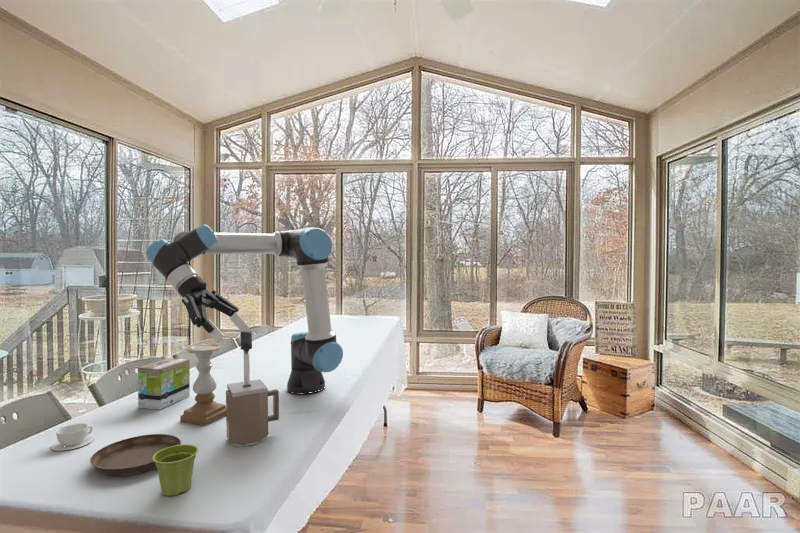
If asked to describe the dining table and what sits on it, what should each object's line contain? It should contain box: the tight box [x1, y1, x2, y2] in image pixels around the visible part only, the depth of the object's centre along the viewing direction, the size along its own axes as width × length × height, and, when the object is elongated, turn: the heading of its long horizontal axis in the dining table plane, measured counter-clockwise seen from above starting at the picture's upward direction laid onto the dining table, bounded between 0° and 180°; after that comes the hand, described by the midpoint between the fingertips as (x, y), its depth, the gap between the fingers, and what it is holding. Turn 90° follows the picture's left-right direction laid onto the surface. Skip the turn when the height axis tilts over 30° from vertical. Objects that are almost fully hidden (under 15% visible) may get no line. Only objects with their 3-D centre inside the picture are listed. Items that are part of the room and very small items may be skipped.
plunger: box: [239, 330, 253, 396], centre depth 127 cm, size 9×9×22 cm
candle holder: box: [179, 343, 226, 426], centre depth 144 cm, size 11×11×24 cm
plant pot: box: [153, 443, 199, 497], centre depth 101 cm, size 9×9×9 cm
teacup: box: [50, 423, 95, 452], centre depth 125 cm, size 10×10×5 cm
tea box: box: [137, 357, 191, 411], centre depth 159 cm, size 15×10×15 cm, turn 168°
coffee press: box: [225, 378, 280, 447], centre depth 129 cm, size 15×11×16 cm
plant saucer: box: [89, 433, 182, 477], centre depth 115 cm, size 21×21×3 cm
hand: (234, 334), depth 127 cm, fingers open, 13 cm apart
